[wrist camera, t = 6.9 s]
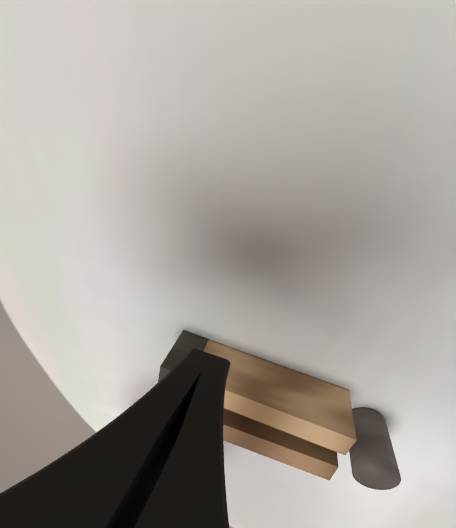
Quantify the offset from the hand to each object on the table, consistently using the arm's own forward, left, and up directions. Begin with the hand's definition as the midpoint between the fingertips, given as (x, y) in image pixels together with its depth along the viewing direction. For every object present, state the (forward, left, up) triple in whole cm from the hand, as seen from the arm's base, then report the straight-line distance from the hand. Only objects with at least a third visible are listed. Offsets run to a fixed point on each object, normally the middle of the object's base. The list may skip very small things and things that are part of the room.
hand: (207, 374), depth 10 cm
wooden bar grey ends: (-2, +7, -8) cm, 11 cm away
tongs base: (-4, +10, -8) cm, 13 cm away
